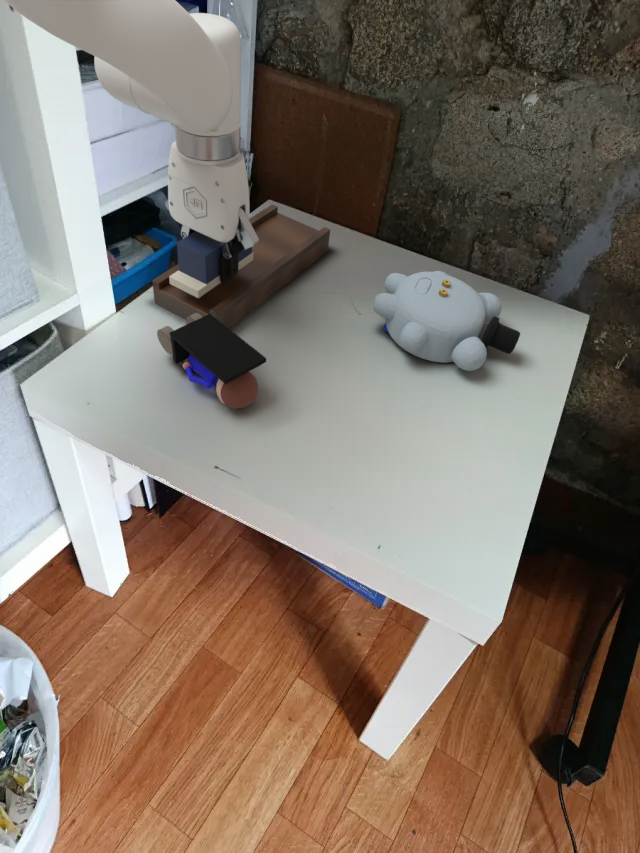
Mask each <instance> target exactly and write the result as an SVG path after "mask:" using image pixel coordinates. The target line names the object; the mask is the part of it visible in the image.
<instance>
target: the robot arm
mask: <svg viewBox="0 0 640 853" xmlns="http://www.w3.org/2000/svg"><path fill="white" fill-rule="evenodd" d="M4 2H6V3H7V4H8V5H9V7H11V8H13V9H14V10H15V11H16V12H17V13H19V14H20V15H21V16H23V18H25V19H27V20H28V21H30V22H31V23H32V24H33V23H34V24H35V25H36V26H37V27H39V28H41V29H43V30H44V31H45V32H47V33H48V34H50V35H52V36H54V37H56V38H58V39H60V40H61V41H63V42H64V43H67V44H69V45H71V46H74V47H76V48H78V49H79V50H81V51H83V52H85V53H87V54H89V55H92V56H94V57H93V58H94V59H93V61H94V62H93V63H94V64H93V65H94V71H95V74H96V75H95V76H96V78H97V79H98V81H99V83H100V85H101V86H102V88H103V89H104V90H105V91H106V93H108V94H109V95H110V96H111V97H112V98H114V99H115V100H117V101H118V102H120V103H122V104H124V105H126V106H128V107H131V108H133V109H136V110H138V111H140V112H143V113H145V114H147V115H151V116H153V117H155V118H157V119H160V120H162V121H164V122H167V123H169V124H170V125H171V127H172V128H174V132H175V133H174V134H175V141H173V142H172V143H171V146H170V151H169V159H168V166H167V167H168V169H167V198H168V199H166V201H164V206H165V208H166V209H167V211H169V214H170V216H171V218H172V219H173V220H174V221H175V223H176V225H177V227H179V229H180V236H181V237H182V238H181V239H183V238H185V237H187V236H188V235H190V234H192V233H193V232H195V231H197V232H199V233H201V234H204V235H206V236H208V237H210V238H212V239H214V240H217V241H219V242H220V245H221V249H222V253H223V255H222V256H221V257H220V258H219V269H220V281H221V282H222V283H226V282H227V281H229V280H230V279H232V278H233V277H234V276H236V275H237V273H238V253H240V252H241V251H243V250H246V249H248V248H250V247H253V246H254V245H256V244H257V243H258V242H259V238H258V236H257V234H256V233H255V231H254V229H253V227H252V225H251V223H250V221H249V219H250V218H251V217H250V216H251V215H250V214H251V213H250V212H251V210H250V208H251V207H250V204H251V203H250V190H249V187H250V186H249V179H248V171H247V165H246V161H245V156H244V155H243V153H241V96H242V92H241V91H242V89H241V87H242V85H241V84H242V83H241V82H242V81H241V78H242V73H241V72H242V70H241V69H242V61H241V60H242V55H241V54H242V44H241V34H240V31H239V29H238V27H237V25H236V24H235V23H234V22H233V21H232V20H230V19H228V18H227V17H224V16H221V15H219V14H213V13H206V12H190V13H189V12H188V11H187V10H186V9H185V8H184V7H183V6H182V5H181V4H180V3H179V2H178V1H177V0H4ZM239 231H240V233H241V235H242V237H243V239H242V240H241V238H240V234H239ZM230 240H232V244H233V245H232V246H231V247H230V243H229V241H230Z"/></svg>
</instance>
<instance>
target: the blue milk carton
mask: <svg viewBox="0 0 640 853" xmlns="http://www.w3.org/2000/svg"><path fill="white" fill-rule="evenodd" d="M252 227H253V226H252ZM239 234H240V238H241V240H242V239H243V237H242V235H241V233H240V231H239ZM229 243H230V247H231V246H232V245H233V244H232V240H230V241H229ZM176 254H177V264H178V267H179V270H178V271H177V272H175V273H174V274H172V275H171V276H169V281H170V284H171V285H173V286H175V287H177V288H179V289H181V290H183V291H185V292H187V293H189V294H191V295H193V296H195V297H197V298H200V297H201V296H202V295H204V294H205V293H207V292H208V291H210V290H211V289H212V288H214V287H215V286H217V285H218V284H220V283H221V281H220V269H219V258H220V257H221V256H222V255H223V253H222V249H221V245H220V242H219V241H217V240H214V239H212V238H210V237H208V236H206V235H204V234H201V233H199V232H197V231H195V232H193V233H192V234H190V235H188V236H187V237H185V238H181V239H180V240H179V241H177V242H176ZM252 260H253V252H252V247H250V248H248V249H246V250H243V251H241V252H240V253H238V270H240V269H241V268H242V267H244V266H245V265H247V264H248V263H250V262H251V261H252Z"/></svg>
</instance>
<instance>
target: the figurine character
mask: <svg viewBox="0 0 640 853" xmlns="http://www.w3.org/2000/svg"><path fill="white" fill-rule="evenodd" d="M185 323H186V324H185V325H182V326H180V327H179V328H177V329H173V328H172V327H171V326H170V325H166V326H163V327H161V328H159V329H158V330H157V332H156V335H157V338H158V339H157V340H158V342H159V343H160V346H161V347H162V349H163V350H164V351H165V353H167V354H168V355H170V356H172V360H173V363H174V364H175V365H178V364H179V365H181V366H182V368H183V369H184V370H185V371H186V374H187V378H188V381H189V382H190V383H191V382H192V383H196V384H198V385H202V386H204V388H205V389H206V390H211V389H212V388H213V387H215V388H216V389H215V390H216V395H217V397H218V399H219V401H220V402H221V403H222V404H223V405H224V406H226V407H227V408H228V407H229V408H231V409H238V410H239V409H243V408H246V407H248V406H249V405H251V404H252V403H253V402H254V401H255V399H256V397H257V395H258V391H259V384H258V380H257V378H256V377H255V375H254V374H253V373H252V372H251V371H253V370H254V369H256V368H258V367H260V366H262V365H264V364H265V363H267V357H266V356H264V355H263V354H261V353H260V352H259V351H258V350H257V349H255V348H254V347H253V346H251V345H250V344H249V343H248V342H247V341H245V340H244V339H243V338H241V337H240V336H239V335H237V333H235V332H234V331H232V329H230V328H227V327H226V326H225V325H224V324H222V323H221V322H220V321H219V320H217V319H216V318H215V317H214V316H212V315H211V314H208V315H206V316H204V317H202V316H201V315H200V314H198V313H195V314H193V315H190V316H188V317H187V318H186V320H185ZM186 360H187V361H186ZM193 371H194V372H195V373H197V374H198V375H199V376H200V377H199V376H195V375H194V372H193Z"/></svg>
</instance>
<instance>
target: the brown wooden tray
mask: <svg viewBox="0 0 640 853" xmlns="http://www.w3.org/2000/svg"><path fill="white" fill-rule="evenodd" d="M278 209H279V207H278V206H277V205H275V204H271V205H269V206H267V207H266V208H264V209H263V210H261V211H259V212H257V213H256V214H254V215H253V216H252V217H249V221H250V223H251V225H252V226H253V229H254V231H255V233H256V234H257V236H258V238H259V242H258V243H257V244H256V245H254V246H253V247H252V252H253V260H252V261H251V262H250V263H248V264H247V265H245V266H244V267H242V268H241V269H240V270H238V273H237V275H236V276H234V277H233V278H232V279H230V280H229V281H227V282H226V283H222V282H221V283H220V284H218V285H217V286H215V287H214V288H212V289H211V290H210V291H208V292H207V293H205V294H204V295H202V296H201V297H200V298H197V297H195V296H193V295H191V294H189V293H187V292H185V291H183V290H181V289H179V288H177V287H175V286H173V285H171V284H170V281H169V276H171V275H172V274H174V273H175V272H177V271H178V270H179V267H178V263H177V264H176V265H174V266H172V267H171V268H169V269H167V270H166V271H164V272H163V273H161V274H160V275H158V276H156V277H155V278H153V279H152V280H151V282H152V290H153V300H154V304H155V305H156V306H159V307H160V308H162V309H164V310H165V311H168V312H170V313H171V314H174V315H175V316H178V317H179V318H181V319H183V320H185V321H186V318H187V317H188V316H190V315H193V314H195V313H198V314H200V315H201V316H202V317H204V316H206V315H208V314H211V315H212V316H214V317H215V318H216V319H217V320H219V321H220V322H221V323H222V324H224V325H225V326H226V327H227V328H229V329H230V328H231V327H233V326H234V325H235V324H236V323H238V322H239V321H240V320H241V319H243V318H244V317H246V315H248V314H250V312H251V311H253V310H254V309H256V308H257V307H258V306H260V305H261V304H262V303H264V301H266V300H267V299H269V298H270V297H271V296H272V295H273V294H275V293H276V292H277V291H279V290H281V288H283V287H284V286H285V285H286V284H288V283H289V282H290V281H292V280H293V279H294V278H296V277H297V276H299V275H300V273H302V272H303V271H305V270H306V269H307V268H309V267H310V266H311V265H312V264H314V263H315V262H316V261H317V260H318V259H320V258H322V256H324V255H325V254H326V253H328V251H329V245H330V236H331V229H330V228H328V227H325V226H323V227H322V228H321V229H316V228H314V227H312V226H310V225H307V224H305V223H303V222H300V221H299V220H296V219H294V218H292V217H289V216H287V215H284V214H282V213H280V212H279V210H278Z"/></svg>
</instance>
